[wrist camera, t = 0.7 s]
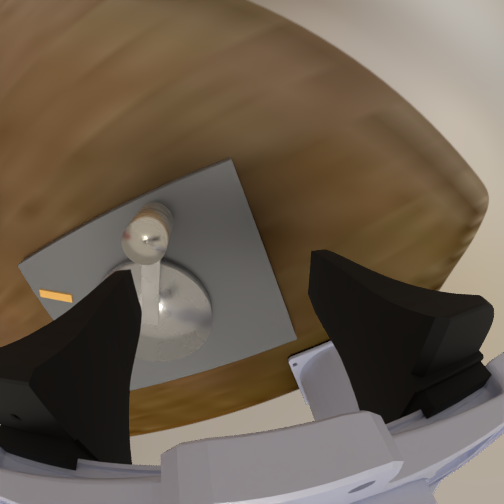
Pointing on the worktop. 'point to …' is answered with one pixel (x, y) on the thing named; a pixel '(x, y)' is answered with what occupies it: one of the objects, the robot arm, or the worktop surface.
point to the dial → (163, 290)
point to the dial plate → (187, 255)
